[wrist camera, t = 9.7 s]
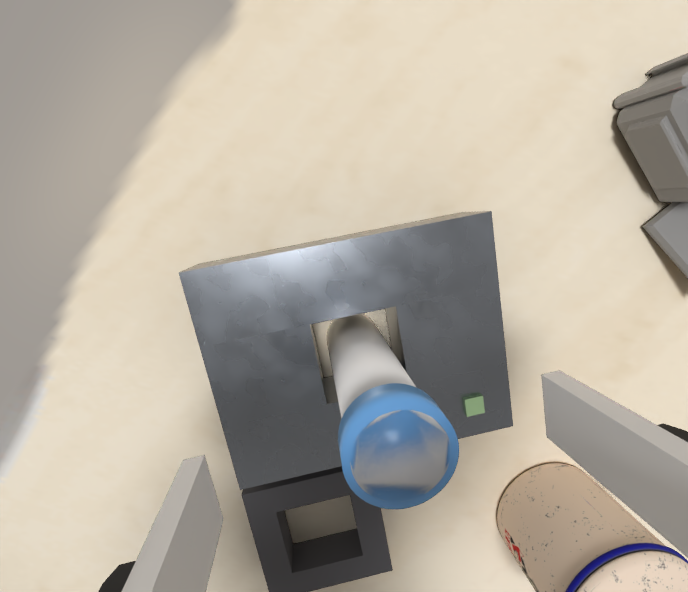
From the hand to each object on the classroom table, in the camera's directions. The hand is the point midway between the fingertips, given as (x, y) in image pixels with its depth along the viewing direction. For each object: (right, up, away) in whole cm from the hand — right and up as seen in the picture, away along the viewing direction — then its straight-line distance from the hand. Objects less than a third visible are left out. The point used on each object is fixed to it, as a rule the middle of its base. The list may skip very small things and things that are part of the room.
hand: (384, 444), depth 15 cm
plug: (-1, +3, +13) cm, 13 cm away
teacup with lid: (+16, -13, +18) cm, 27 cm away
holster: (-3, -11, +15) cm, 19 cm away
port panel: (-1, +3, +13) cm, 13 cm away
